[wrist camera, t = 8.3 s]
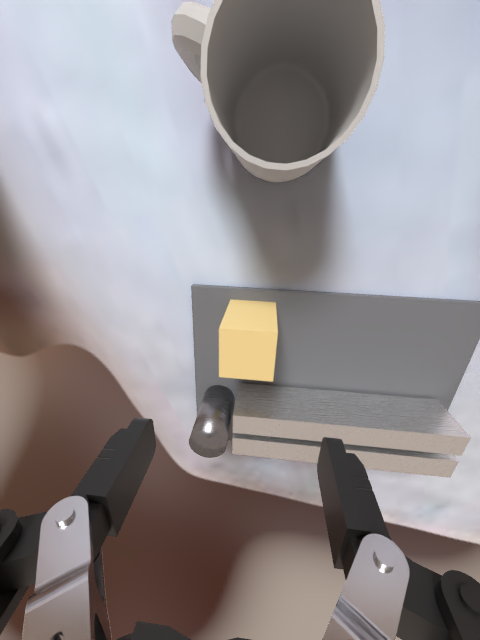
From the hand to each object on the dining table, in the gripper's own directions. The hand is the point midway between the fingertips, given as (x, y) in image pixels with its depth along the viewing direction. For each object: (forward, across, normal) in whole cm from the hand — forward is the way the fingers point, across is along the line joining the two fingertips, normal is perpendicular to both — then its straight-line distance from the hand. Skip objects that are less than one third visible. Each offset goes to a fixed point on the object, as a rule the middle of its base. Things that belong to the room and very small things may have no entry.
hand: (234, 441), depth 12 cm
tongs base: (+13, -7, +9) cm, 18 cm away
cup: (+14, 0, -16) cm, 21 cm away
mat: (+14, -7, +6) cm, 17 cm away
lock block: (+13, 0, 0) cm, 13 cm away
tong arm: (+13, -8, +8) cm, 17 cm away
